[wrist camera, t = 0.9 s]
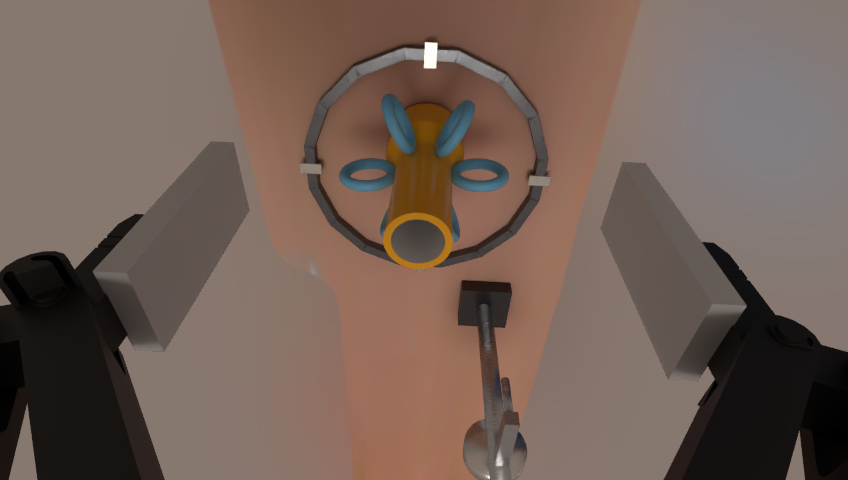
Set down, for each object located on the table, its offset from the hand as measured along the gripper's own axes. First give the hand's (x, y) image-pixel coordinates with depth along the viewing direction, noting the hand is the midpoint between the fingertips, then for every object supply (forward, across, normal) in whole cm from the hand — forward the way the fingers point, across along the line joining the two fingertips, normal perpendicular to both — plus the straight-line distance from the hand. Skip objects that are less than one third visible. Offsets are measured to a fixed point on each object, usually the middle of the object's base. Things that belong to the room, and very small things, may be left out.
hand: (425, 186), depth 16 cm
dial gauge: (+22, +6, -25) cm, 33 cm away
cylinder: (+22, 0, -8) cm, 24 cm away
